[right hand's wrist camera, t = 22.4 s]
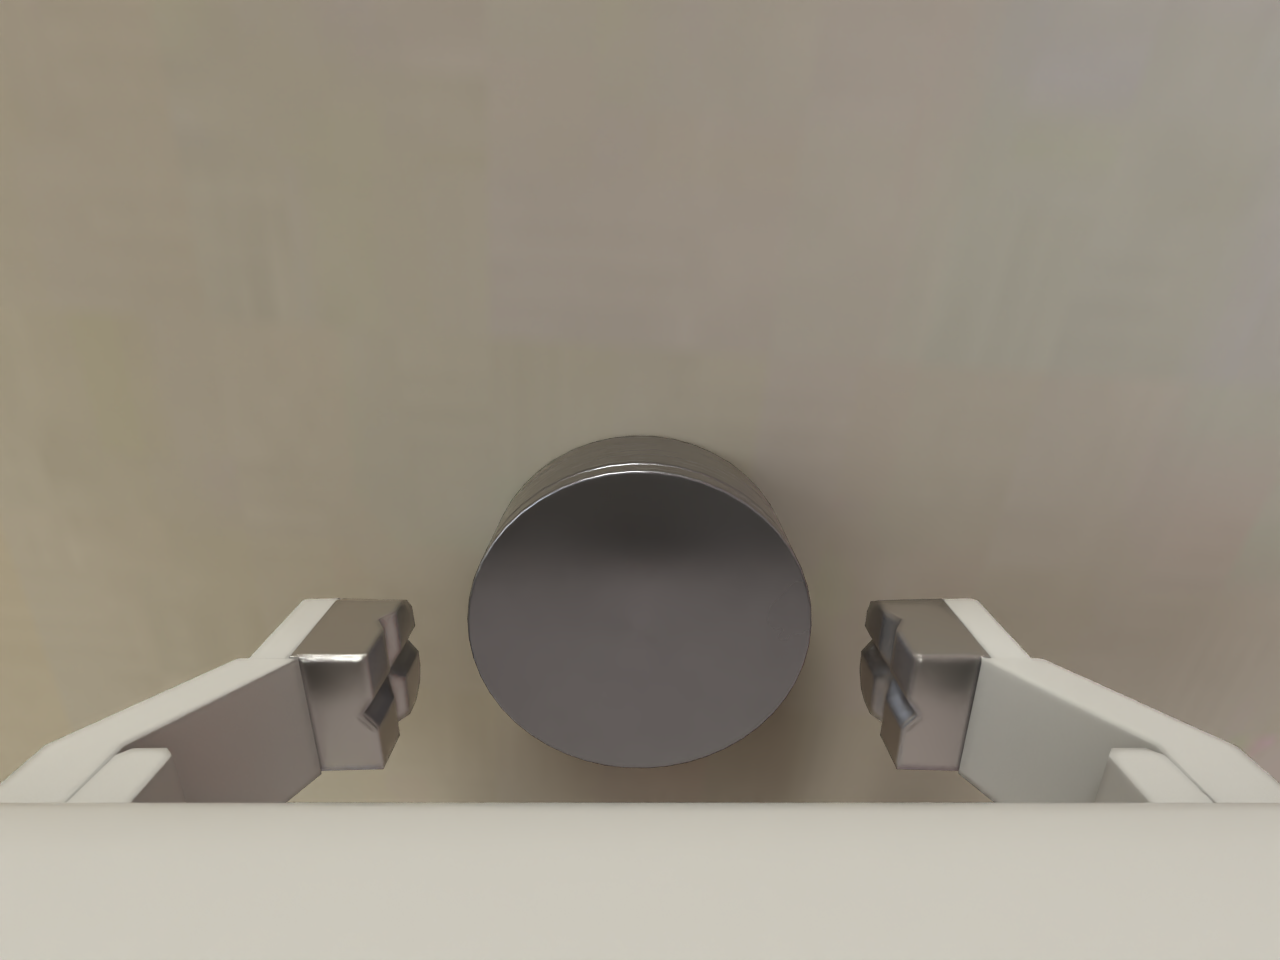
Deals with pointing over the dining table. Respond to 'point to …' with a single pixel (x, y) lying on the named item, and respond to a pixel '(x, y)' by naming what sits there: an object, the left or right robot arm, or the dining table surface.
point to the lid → (639, 605)
